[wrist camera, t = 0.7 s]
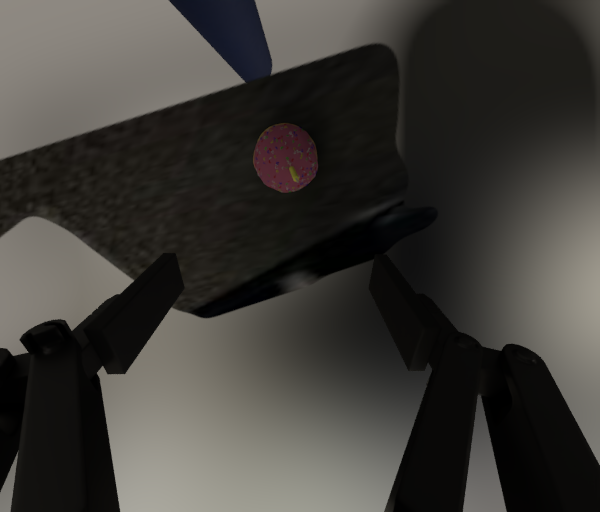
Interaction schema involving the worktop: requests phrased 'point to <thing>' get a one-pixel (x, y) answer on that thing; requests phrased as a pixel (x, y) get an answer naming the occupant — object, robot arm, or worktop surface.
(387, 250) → the worktop surface
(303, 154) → the cupcake
